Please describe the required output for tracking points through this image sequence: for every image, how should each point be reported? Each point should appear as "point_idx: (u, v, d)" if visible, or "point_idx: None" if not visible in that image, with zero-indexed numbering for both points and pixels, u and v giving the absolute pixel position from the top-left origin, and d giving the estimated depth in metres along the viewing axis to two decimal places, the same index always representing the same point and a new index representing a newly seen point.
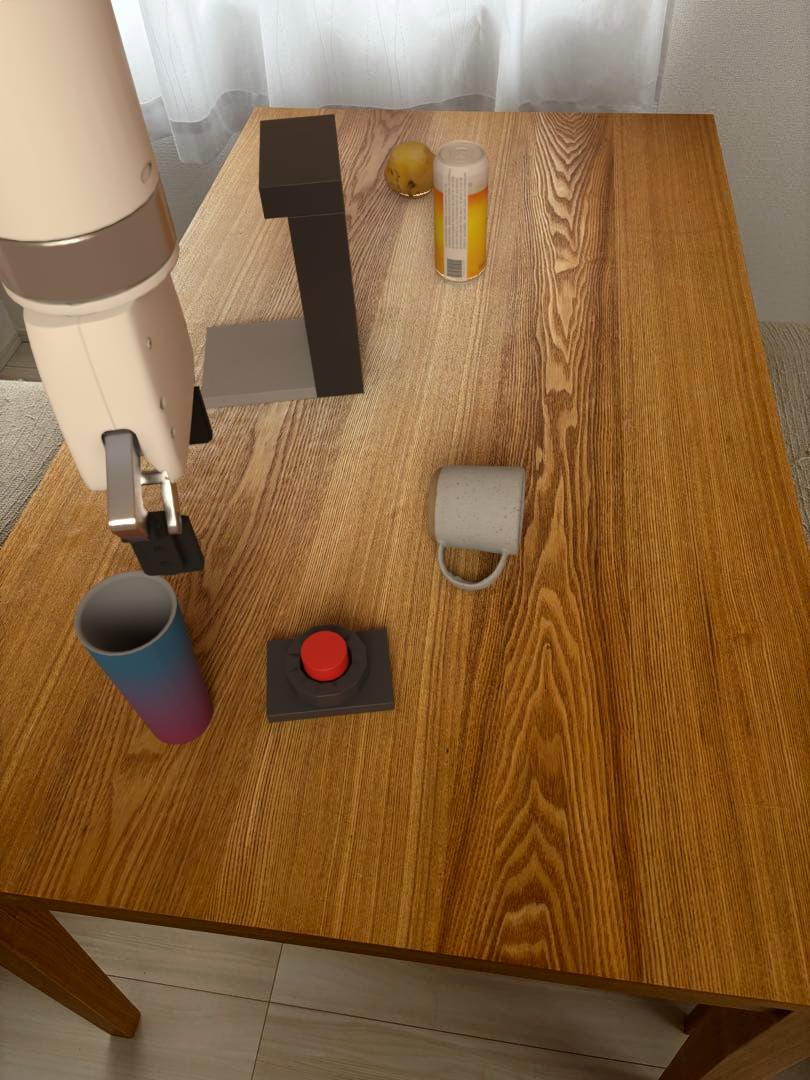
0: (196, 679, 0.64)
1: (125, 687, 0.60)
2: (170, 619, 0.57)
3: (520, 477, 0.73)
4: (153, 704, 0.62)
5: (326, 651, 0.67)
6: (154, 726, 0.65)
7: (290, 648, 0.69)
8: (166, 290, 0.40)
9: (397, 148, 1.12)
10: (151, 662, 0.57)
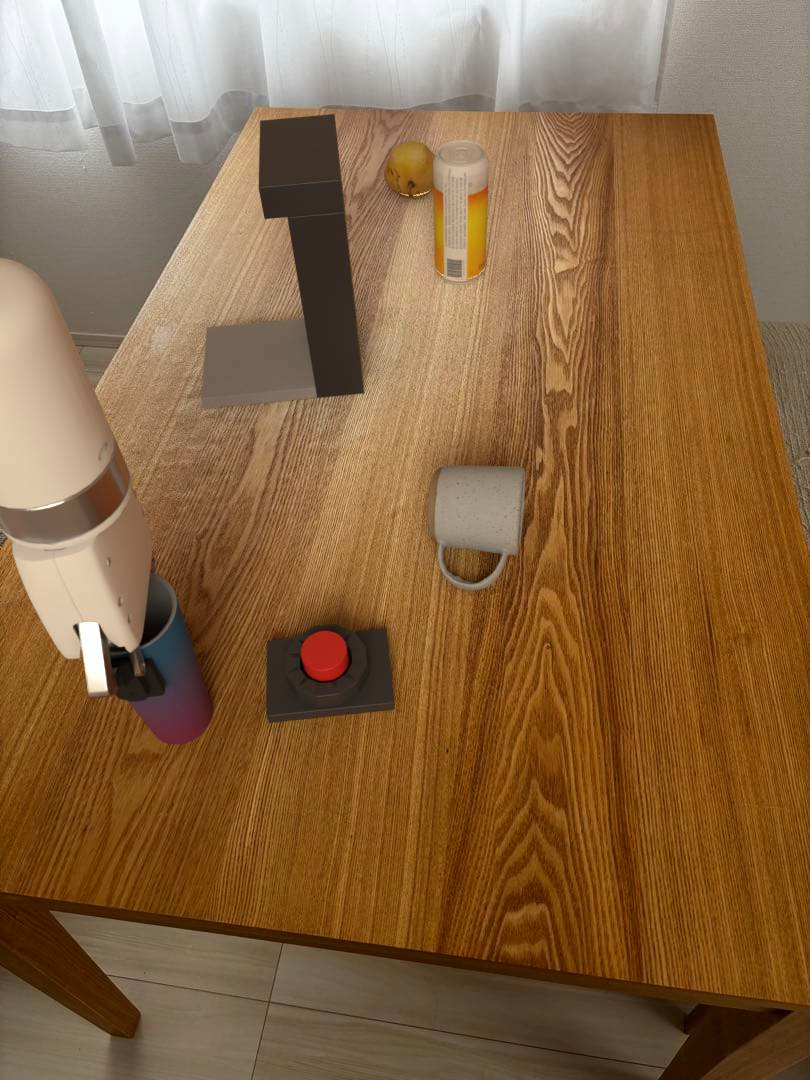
0: (196, 679, 0.64)
1: None
2: (170, 619, 0.57)
3: (520, 477, 0.73)
4: (153, 704, 0.62)
5: (326, 651, 0.67)
6: (154, 726, 0.65)
7: (290, 648, 0.69)
8: None
9: (397, 148, 1.12)
10: None
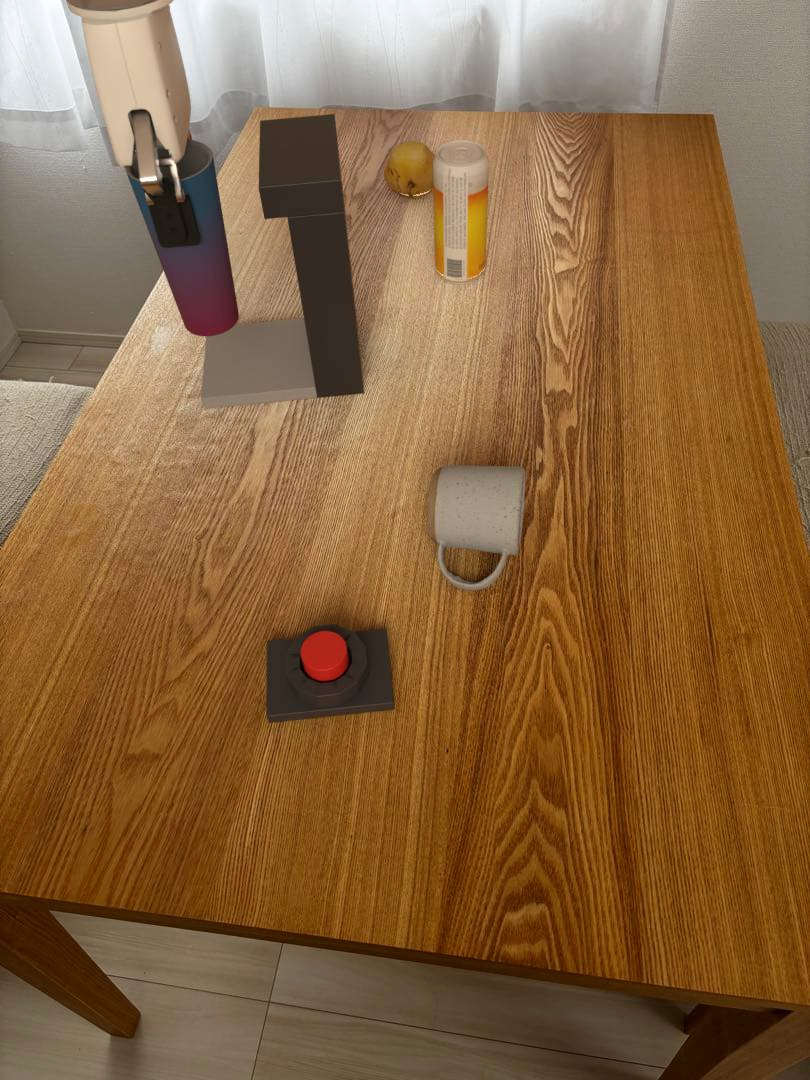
0: (226, 258, 0.73)
1: None
2: (207, 164, 0.67)
3: (520, 477, 0.73)
4: (190, 267, 0.71)
5: (326, 651, 0.67)
6: (189, 306, 0.75)
7: (290, 648, 0.69)
8: (171, 26, 0.61)
9: (397, 148, 1.12)
10: None
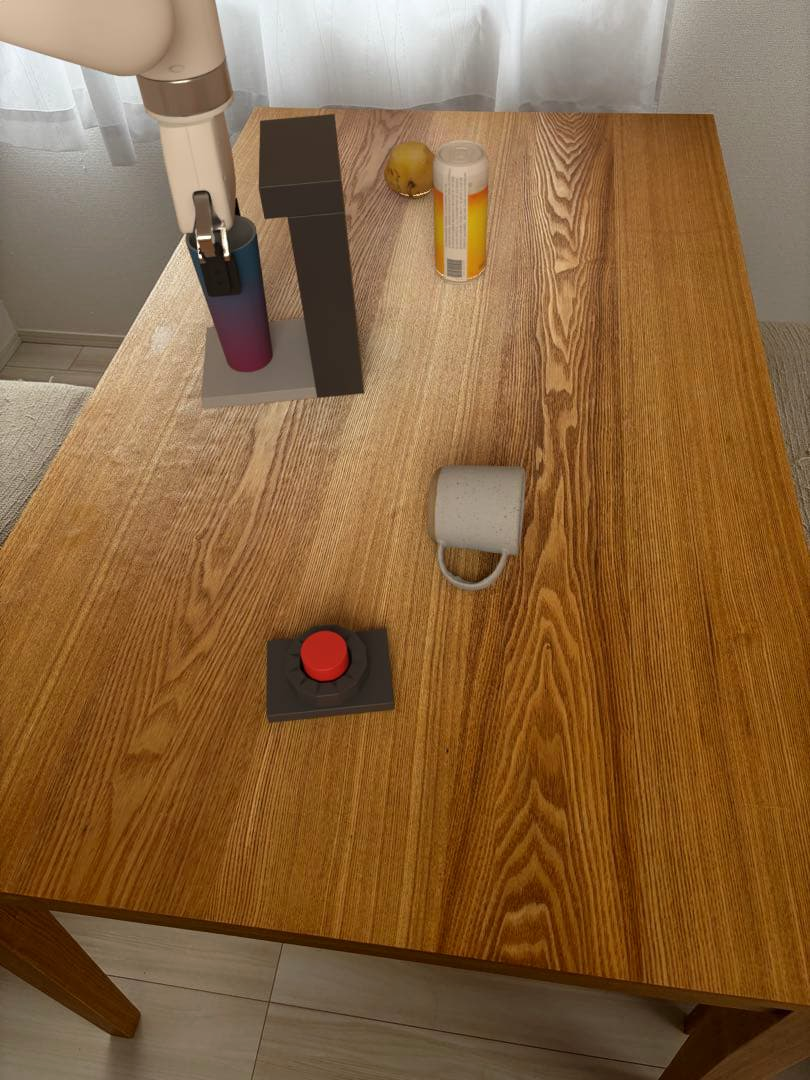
0: (264, 309, 0.89)
1: (218, 296, 0.85)
2: (252, 237, 0.82)
3: (520, 477, 0.73)
4: (236, 317, 0.87)
5: (326, 651, 0.67)
6: (233, 348, 0.90)
7: (290, 648, 0.69)
8: (225, 122, 0.76)
9: (397, 148, 1.12)
10: (239, 268, 0.82)
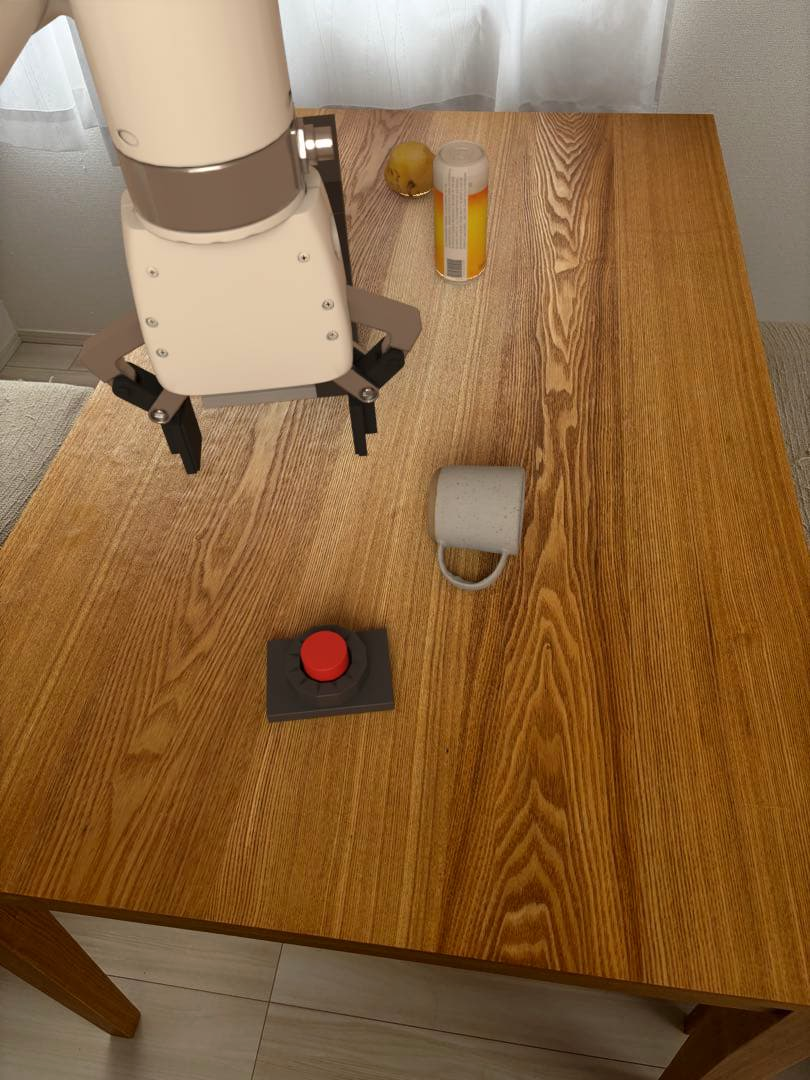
0: None
1: None
2: None
3: (520, 477, 0.73)
4: None
5: (326, 651, 0.67)
6: None
7: (290, 648, 0.69)
8: (249, 273, 0.38)
9: (397, 148, 1.12)
10: None
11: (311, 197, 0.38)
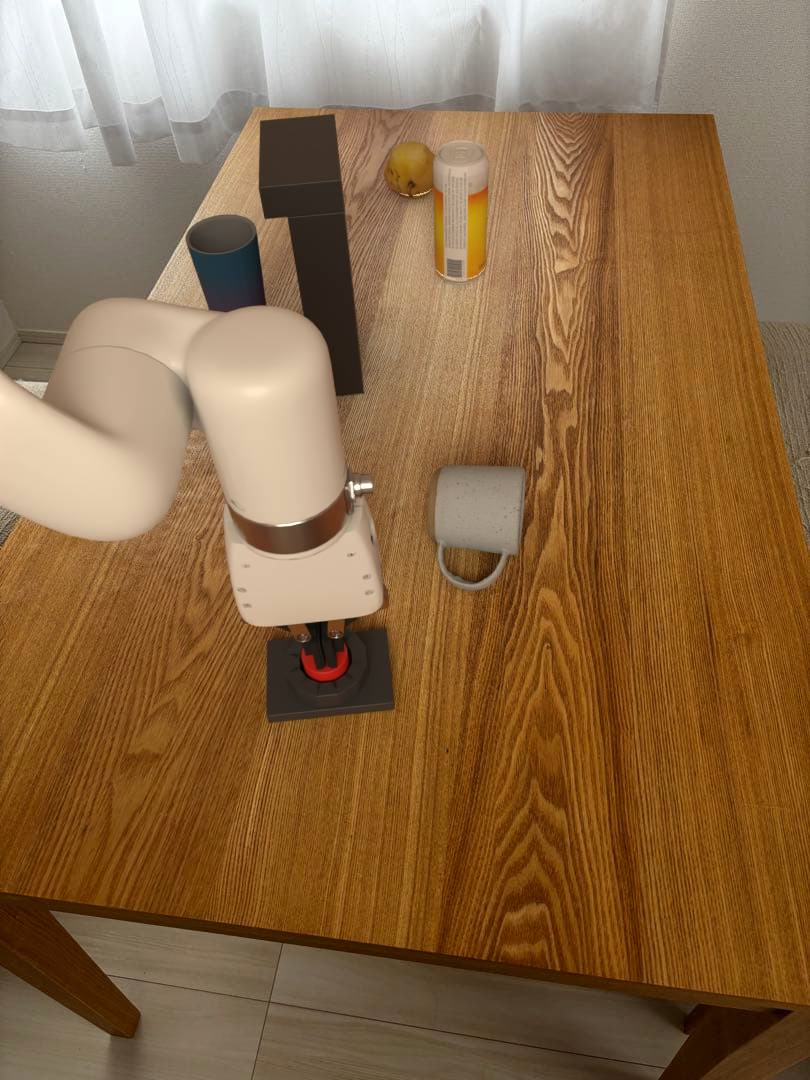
0: None
1: (218, 296, 0.85)
2: (252, 237, 0.82)
3: (520, 477, 0.73)
4: None
5: None
6: None
7: (290, 648, 0.69)
8: (313, 565, 0.55)
9: (397, 148, 1.12)
10: (239, 268, 0.82)
11: (357, 516, 0.54)
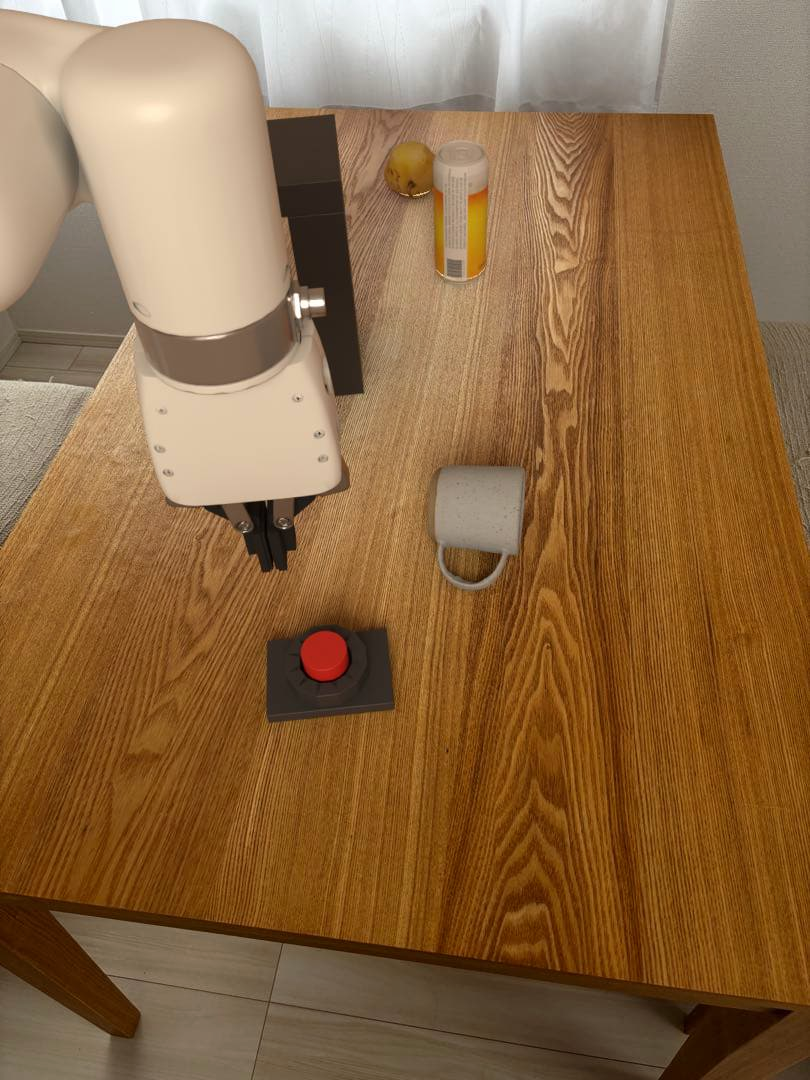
0: None
1: None
2: None
3: (520, 477, 0.73)
4: None
5: (326, 651, 0.67)
6: None
7: (290, 648, 0.69)
8: (248, 412, 0.43)
9: (397, 148, 1.12)
10: None
11: (305, 347, 0.42)
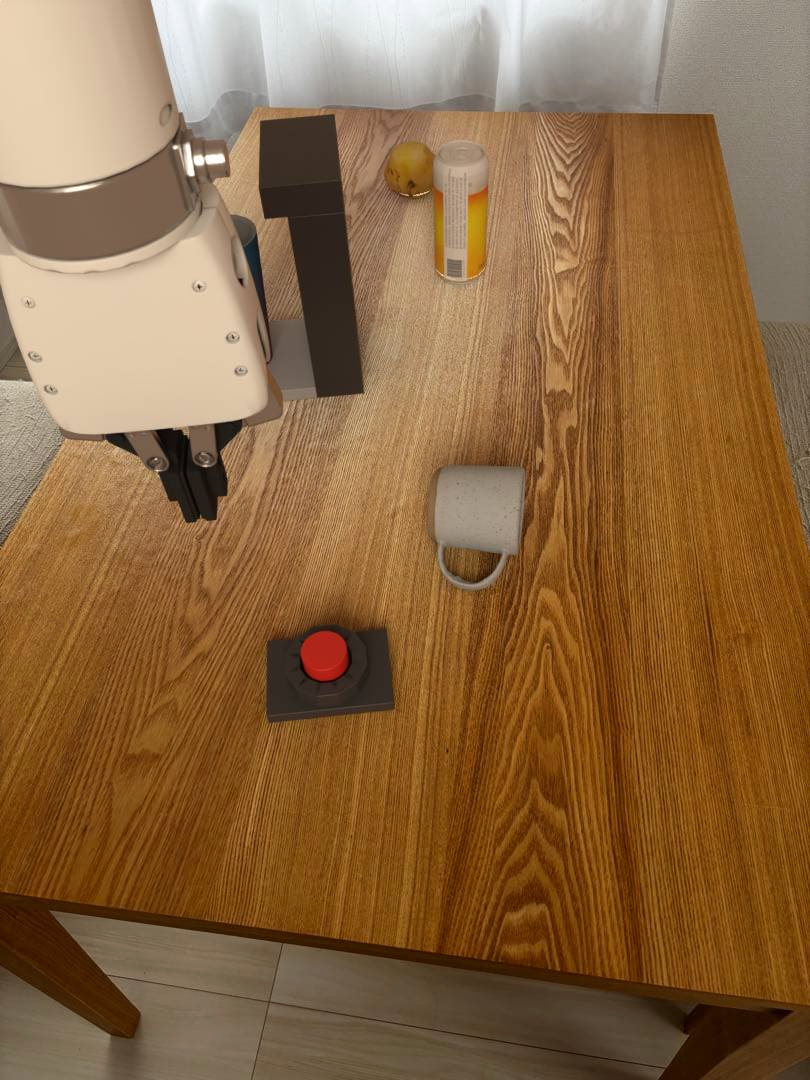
0: (265, 309, 0.89)
1: None
2: (252, 237, 0.82)
3: (520, 477, 0.73)
4: None
5: (326, 651, 0.67)
6: None
7: (290, 648, 0.69)
8: (138, 304, 0.34)
9: (397, 148, 1.12)
10: None
11: (206, 219, 0.33)
